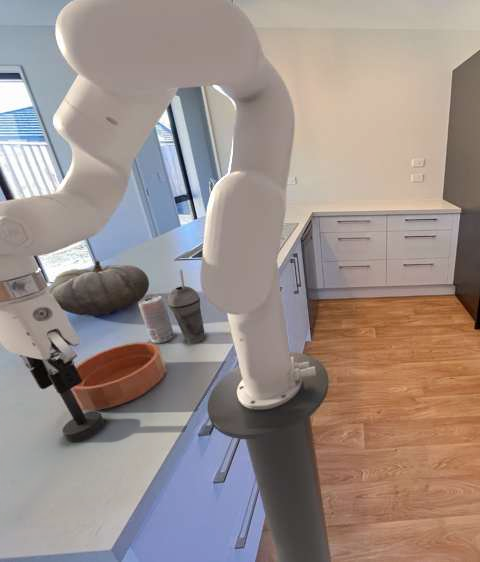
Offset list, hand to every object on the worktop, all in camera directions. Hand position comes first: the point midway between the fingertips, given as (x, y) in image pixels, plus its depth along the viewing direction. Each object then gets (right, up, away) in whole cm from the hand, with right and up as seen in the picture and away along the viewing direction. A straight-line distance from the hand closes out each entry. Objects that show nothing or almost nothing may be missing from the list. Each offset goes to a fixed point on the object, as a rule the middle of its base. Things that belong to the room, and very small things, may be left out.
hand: (61, 384), depth 51 cm
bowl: (-2, -5, +15) cm, 16 cm away
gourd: (-37, +8, +51) cm, 64 cm away
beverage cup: (+4, +1, +32) cm, 32 cm away
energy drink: (-5, +2, +32) cm, 33 cm away
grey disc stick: (0, -10, +4) cm, 11 cm away
